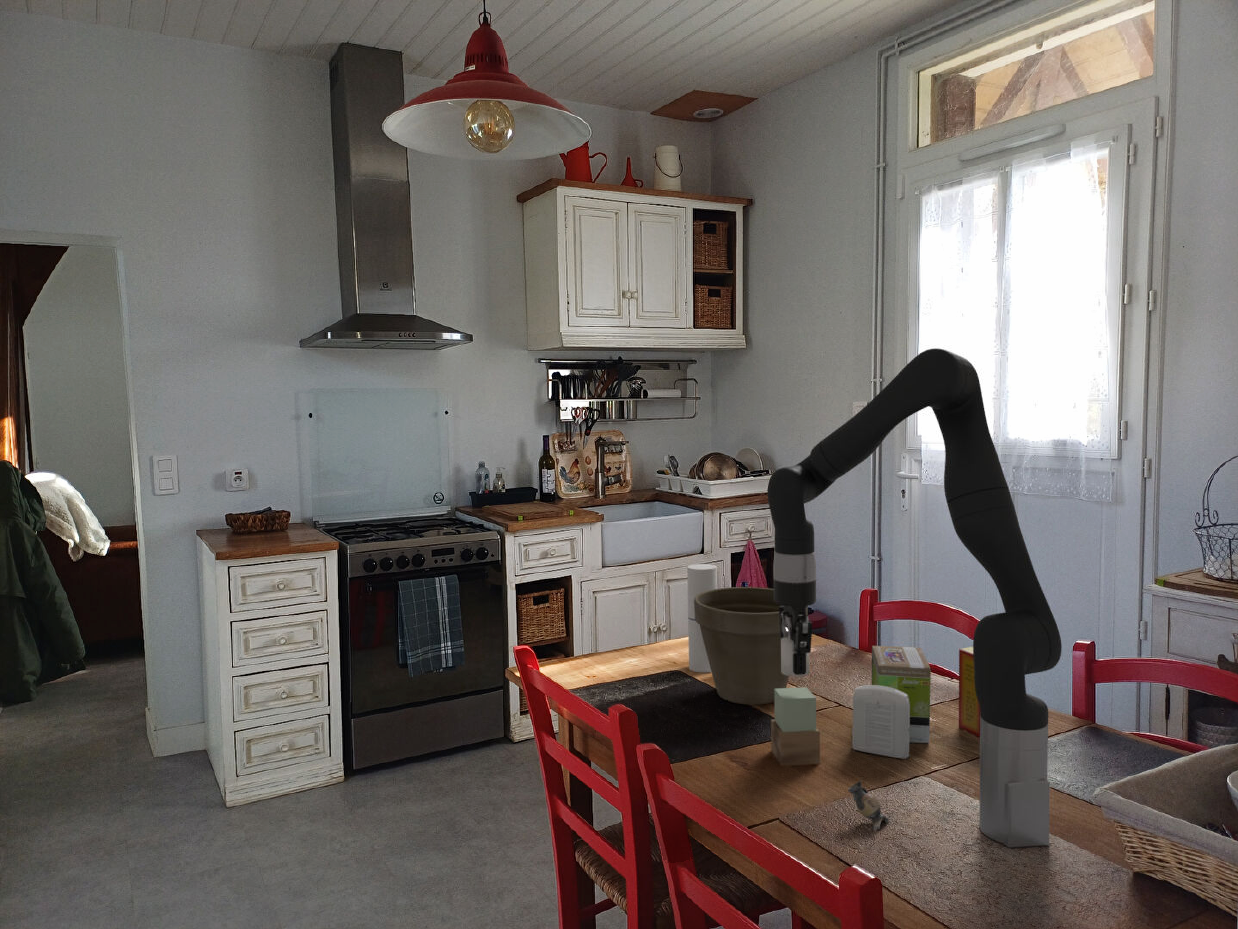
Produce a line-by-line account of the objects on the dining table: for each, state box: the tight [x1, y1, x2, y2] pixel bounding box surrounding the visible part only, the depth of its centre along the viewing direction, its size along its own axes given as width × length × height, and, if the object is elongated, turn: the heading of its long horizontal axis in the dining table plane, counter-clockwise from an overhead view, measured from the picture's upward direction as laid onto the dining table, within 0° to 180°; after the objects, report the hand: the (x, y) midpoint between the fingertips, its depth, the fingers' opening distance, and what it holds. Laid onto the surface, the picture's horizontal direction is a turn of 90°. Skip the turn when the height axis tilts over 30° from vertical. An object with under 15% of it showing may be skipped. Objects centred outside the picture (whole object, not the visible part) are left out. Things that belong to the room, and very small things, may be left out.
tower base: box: [770, 718, 821, 767], centre depth 164 cm, size 7×7×6 cm
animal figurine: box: [847, 781, 890, 834], centre depth 138 cm, size 5×5×6 cm
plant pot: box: [694, 586, 809, 706], centre depth 198 cm, size 25×25×22 cm
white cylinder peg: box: [781, 637, 810, 678], centre depth 163 cm, size 5×5×6 cm
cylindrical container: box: [686, 563, 718, 673], centre depth 218 cm, size 7×7×25 cm
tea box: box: [870, 645, 932, 744], centre depth 176 cm, size 15×10×15 cm, turn 168°
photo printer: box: [851, 684, 910, 760], centre depth 165 cm, size 10×4×12 cm, turn 60°
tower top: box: [774, 686, 817, 732], centre depth 163 cm, size 6×6×6 cm
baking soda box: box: [958, 646, 980, 739], centre depth 175 cm, size 10×6×16 cm
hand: (795, 668), depth 163 cm, fingers closed on white cylinder peg, 5 cm apart
